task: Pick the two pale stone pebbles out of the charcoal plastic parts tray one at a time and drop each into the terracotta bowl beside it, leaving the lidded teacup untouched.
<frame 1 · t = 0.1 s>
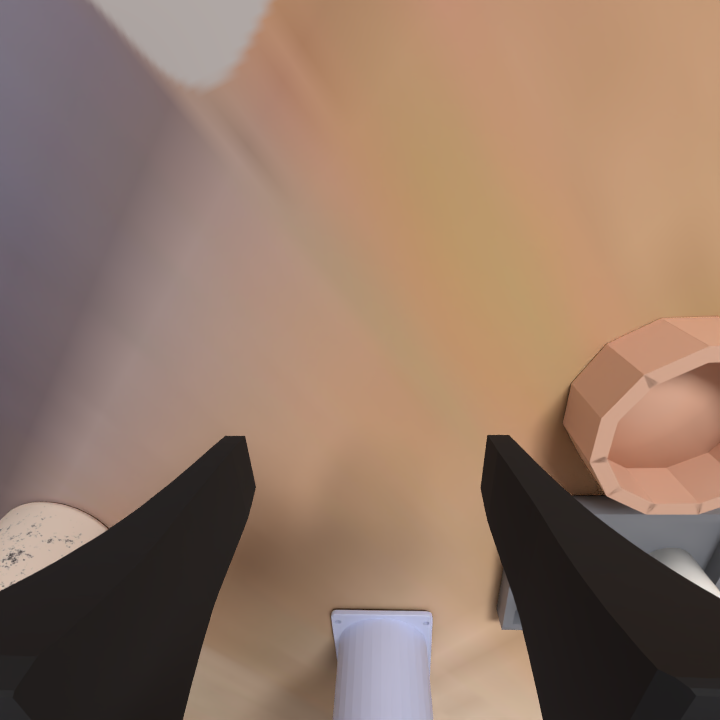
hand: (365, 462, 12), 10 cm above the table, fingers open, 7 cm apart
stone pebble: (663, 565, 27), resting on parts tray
bowl: (660, 402, 22), on the table
teacup with lid: (83, 534, 30), on the table
parts tray: (607, 558, 28), on the table
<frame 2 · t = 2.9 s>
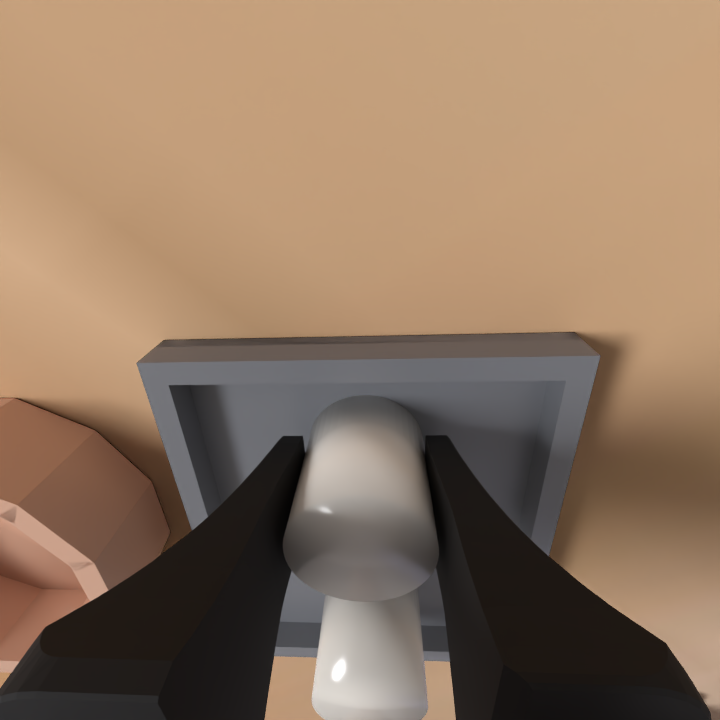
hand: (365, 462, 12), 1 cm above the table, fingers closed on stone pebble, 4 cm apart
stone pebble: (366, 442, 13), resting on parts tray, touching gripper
bowl: (37, 506, 16), on the table
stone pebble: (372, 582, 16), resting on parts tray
parts tray: (369, 509, 15), on the table
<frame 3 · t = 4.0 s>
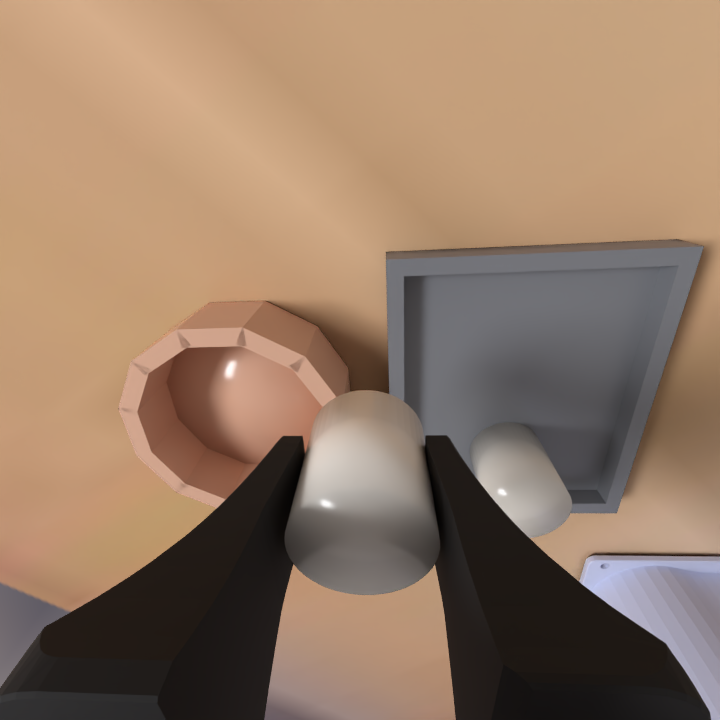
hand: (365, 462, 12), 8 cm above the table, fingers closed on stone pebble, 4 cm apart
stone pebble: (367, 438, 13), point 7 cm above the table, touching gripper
bowl: (255, 393, 21), on the table
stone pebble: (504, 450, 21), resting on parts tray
parts tray: (509, 388, 20), on the table
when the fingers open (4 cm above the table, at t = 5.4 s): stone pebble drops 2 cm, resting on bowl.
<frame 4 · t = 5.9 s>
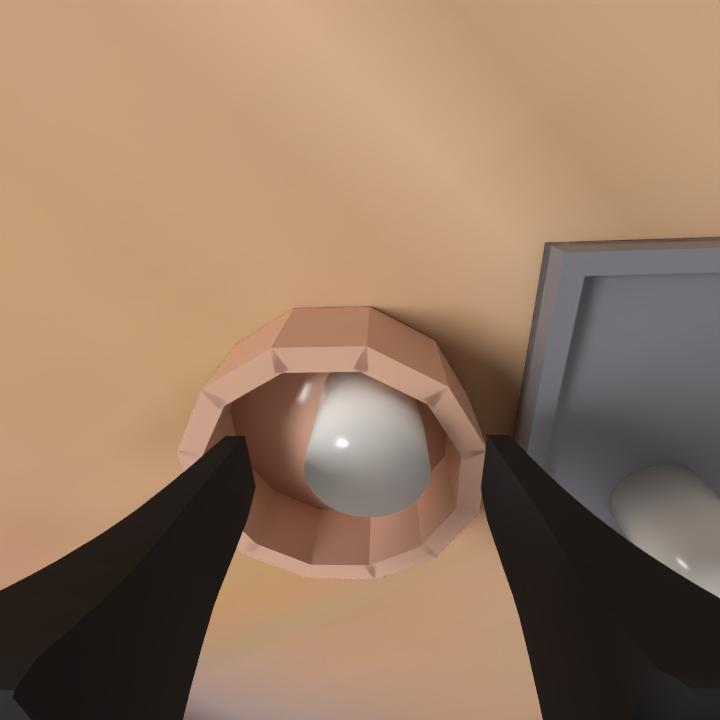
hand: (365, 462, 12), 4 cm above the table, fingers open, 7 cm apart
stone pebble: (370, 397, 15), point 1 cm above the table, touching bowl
bowl: (340, 423, 16), on the table
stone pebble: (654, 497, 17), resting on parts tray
parts tray: (673, 421, 15), on the table
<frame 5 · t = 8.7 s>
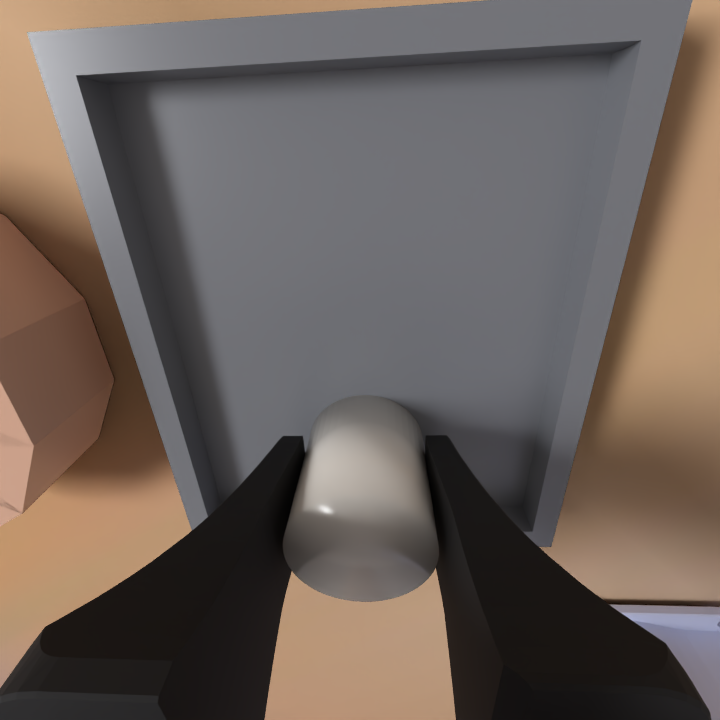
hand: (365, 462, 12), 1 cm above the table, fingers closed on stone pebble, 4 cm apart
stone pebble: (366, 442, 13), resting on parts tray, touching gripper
parts tray: (362, 336, 12), on the table
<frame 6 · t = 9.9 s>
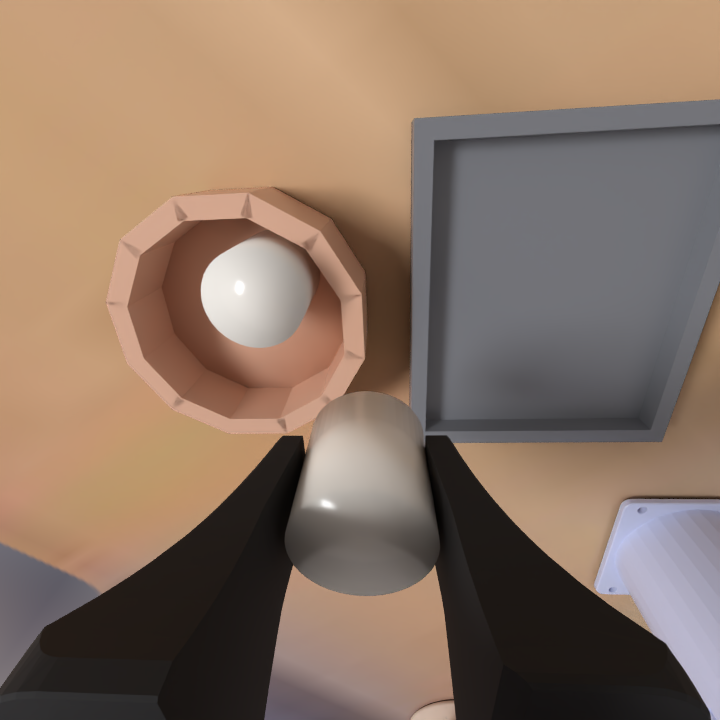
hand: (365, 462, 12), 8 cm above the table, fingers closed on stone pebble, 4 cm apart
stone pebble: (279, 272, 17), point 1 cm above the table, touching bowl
bowl: (260, 304, 19), on the table
teacup with lid: (452, 711, 35), on the table
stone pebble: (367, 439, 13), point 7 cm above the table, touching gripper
parts tray: (545, 295, 18), on the table
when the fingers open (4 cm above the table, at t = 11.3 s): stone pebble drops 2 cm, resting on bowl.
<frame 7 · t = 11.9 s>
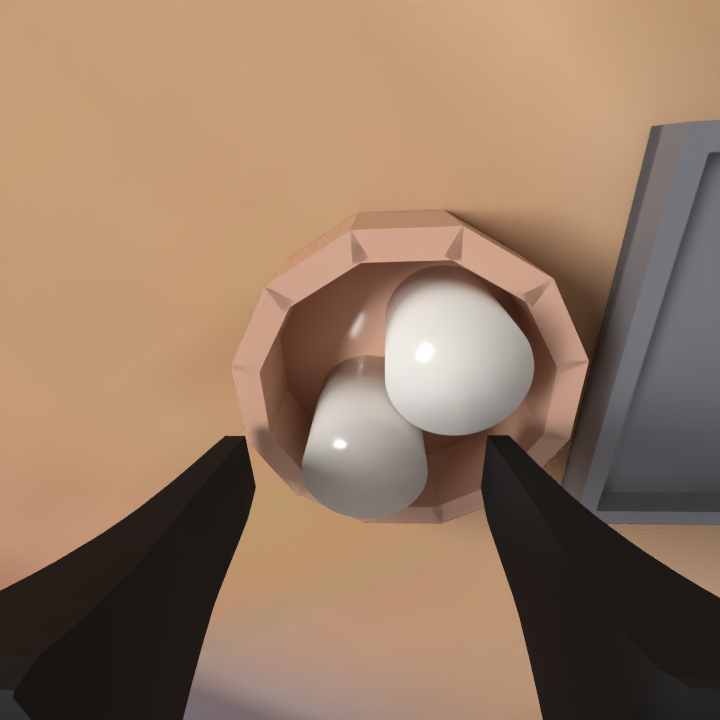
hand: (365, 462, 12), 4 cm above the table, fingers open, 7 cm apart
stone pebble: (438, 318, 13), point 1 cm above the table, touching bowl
bowl: (399, 354, 15), on the table
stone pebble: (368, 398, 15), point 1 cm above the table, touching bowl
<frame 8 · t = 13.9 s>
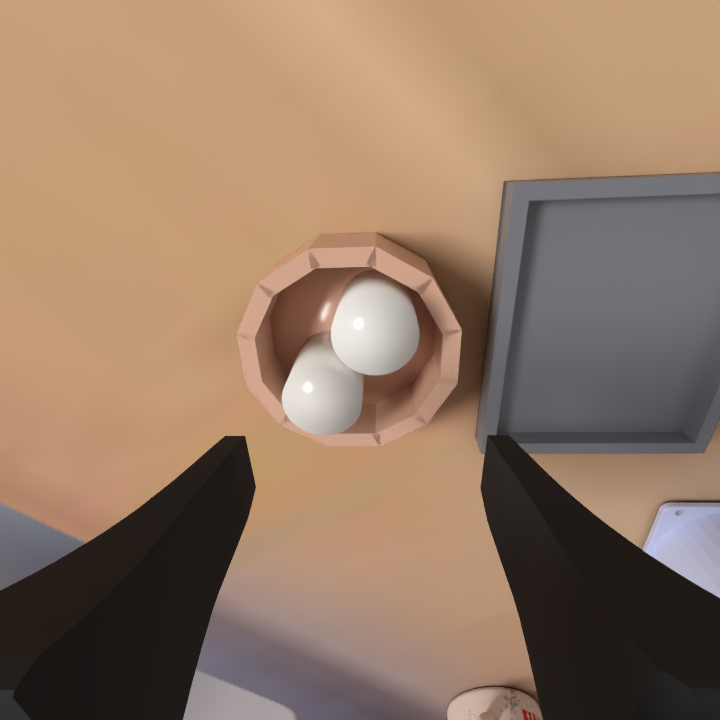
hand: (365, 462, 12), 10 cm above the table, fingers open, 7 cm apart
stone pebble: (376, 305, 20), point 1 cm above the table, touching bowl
bowl: (353, 331, 21), on the table
teacup with lid: (488, 698, 38), on the table
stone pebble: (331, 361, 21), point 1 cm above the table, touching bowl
parts tray: (607, 326, 20), on the table
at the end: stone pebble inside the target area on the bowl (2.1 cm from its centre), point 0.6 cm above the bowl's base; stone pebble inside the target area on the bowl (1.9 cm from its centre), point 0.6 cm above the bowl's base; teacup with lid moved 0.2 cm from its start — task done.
